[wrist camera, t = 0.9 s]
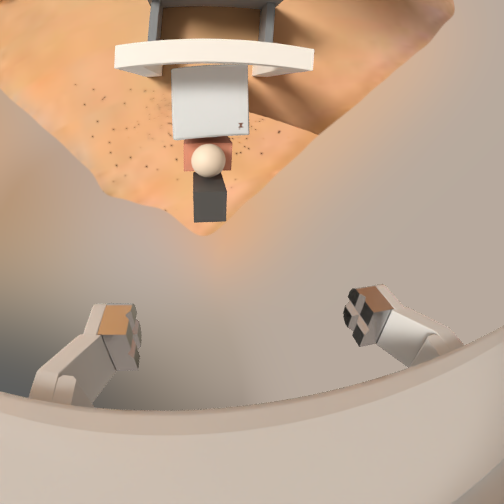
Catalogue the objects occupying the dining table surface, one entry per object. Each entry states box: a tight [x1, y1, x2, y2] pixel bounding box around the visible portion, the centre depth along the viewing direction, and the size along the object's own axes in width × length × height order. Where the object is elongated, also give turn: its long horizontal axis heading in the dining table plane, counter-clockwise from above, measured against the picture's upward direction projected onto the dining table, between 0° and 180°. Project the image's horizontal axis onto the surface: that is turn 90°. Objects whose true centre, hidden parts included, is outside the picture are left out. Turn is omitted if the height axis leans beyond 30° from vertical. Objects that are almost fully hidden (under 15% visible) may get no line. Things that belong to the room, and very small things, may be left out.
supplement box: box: [171, 64, 249, 140], centre depth 29 cm, size 7×7×13 cm
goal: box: [114, 0, 314, 77], centre depth 22 cm, size 12×16×16 cm
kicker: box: [184, 136, 232, 222], centre depth 31 cm, size 7×5×14 cm
